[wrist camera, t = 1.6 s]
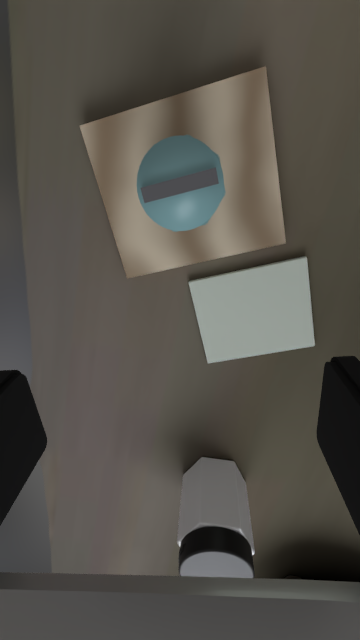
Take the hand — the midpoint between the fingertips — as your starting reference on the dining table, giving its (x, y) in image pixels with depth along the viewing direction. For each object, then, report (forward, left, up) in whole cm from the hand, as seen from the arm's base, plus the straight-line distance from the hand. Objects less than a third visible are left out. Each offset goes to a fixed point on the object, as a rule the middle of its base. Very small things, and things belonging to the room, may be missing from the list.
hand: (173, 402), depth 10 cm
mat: (-4, +7, -24) cm, 26 cm away
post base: (0, -6, -24) cm, 25 cm away
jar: (+5, +31, -24) cm, 40 cm away
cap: (0, -7, -20) cm, 21 cm away
